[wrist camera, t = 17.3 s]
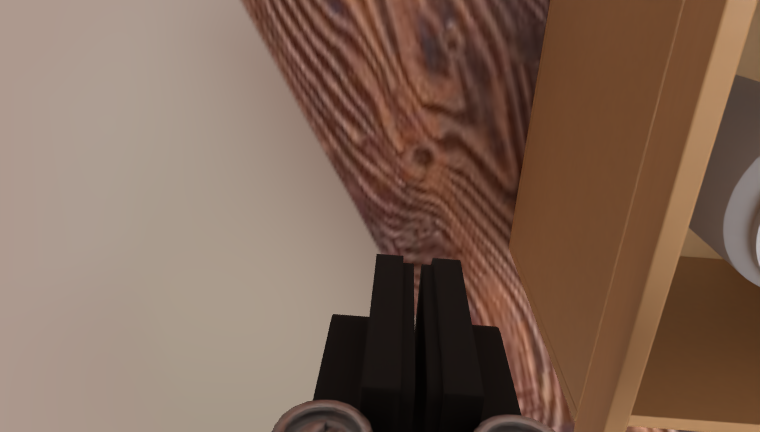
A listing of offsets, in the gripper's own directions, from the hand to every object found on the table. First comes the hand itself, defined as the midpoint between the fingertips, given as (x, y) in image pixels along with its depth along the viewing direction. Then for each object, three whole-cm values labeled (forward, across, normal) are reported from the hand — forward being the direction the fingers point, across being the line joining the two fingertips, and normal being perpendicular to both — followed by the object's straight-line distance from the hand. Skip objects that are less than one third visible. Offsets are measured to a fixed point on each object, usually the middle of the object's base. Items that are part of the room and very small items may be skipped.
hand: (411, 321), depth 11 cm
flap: (+2, -5, 0) cm, 6 cm away
